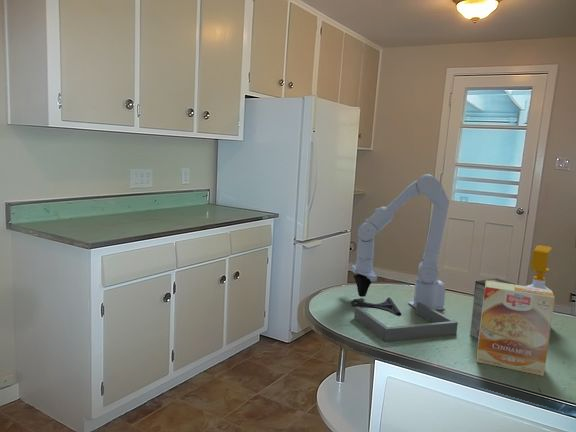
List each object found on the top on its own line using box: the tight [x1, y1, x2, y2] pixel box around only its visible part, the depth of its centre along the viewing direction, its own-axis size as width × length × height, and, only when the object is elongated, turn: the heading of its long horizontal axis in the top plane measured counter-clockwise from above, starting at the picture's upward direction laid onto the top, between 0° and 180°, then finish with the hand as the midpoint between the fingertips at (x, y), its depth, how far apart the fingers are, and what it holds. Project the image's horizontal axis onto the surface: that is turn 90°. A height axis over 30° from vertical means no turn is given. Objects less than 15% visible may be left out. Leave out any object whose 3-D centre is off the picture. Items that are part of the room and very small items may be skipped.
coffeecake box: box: [476, 279, 556, 377], centre depth 112 cm, size 15×7×20 cm, turn 66°
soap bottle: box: [526, 244, 555, 296], centre depth 140 cm, size 9×9×25 cm
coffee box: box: [469, 277, 517, 339], centre depth 129 cm, size 9×6×16 cm
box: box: [353, 302, 459, 343], centre depth 135 cm, size 23×18×4 cm
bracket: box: [350, 297, 402, 316], centre depth 151 cm, size 14×15×3 cm
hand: (362, 295), depth 158 cm, fingers closed
